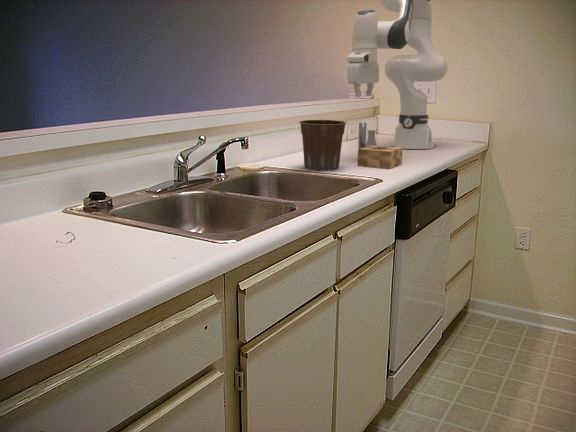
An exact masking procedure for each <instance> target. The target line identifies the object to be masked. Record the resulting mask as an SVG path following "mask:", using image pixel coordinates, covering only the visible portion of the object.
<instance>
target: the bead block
mask: <svg viewBox="0 0 576 432" xmlns="http://www.w3.org/2000/svg"><path fill="white" fill-rule="evenodd" d="M403 150H404V149H403V148H401V147H394V146H388V145H387V146H385V145H377V146H375V145H371V146H368V147H364V148H361V149H358V148H357V166H358V167H363V168H365V167H366V168H373V169H374V168H376V169H385V170H390V169H393V168H396V167H398V166H400V165H402V164H403Z"/></svg>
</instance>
